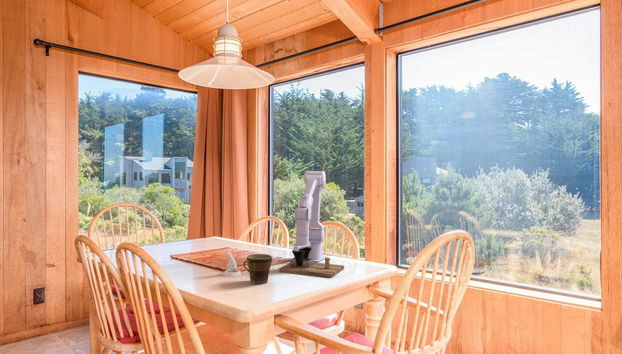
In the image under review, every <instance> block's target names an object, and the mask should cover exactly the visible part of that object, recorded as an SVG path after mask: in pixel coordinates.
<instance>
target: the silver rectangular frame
mask: <svg viewBox="0 0 622 354" xmlns="http://www.w3.org/2000/svg"><path fill="white" fill-rule="evenodd" d="M289 263H290V266H295V267H304V268H310V267H312V266H313V264H314V259H311V258H303V262H302V266H297V265H296V260H295V257H292V258H290V259H289Z"/></svg>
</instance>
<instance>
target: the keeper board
mask: <svg viewBox="0 0 622 354" xmlns="http://www.w3.org/2000/svg"><path fill="white" fill-rule="evenodd" d="M330 260H331V257H330V256H329V257H328V256H327V257H324V262H314V264H313V266H312V267H310V268H304V267H295V266H290V262H289V263H286V264H285V265H282V266H280V267H278V272H279V273H285V274H286V273H288V274H295V275H296V274H297V275H302V276H303V275H305V276H313V277H319V276H320V277H321V278H328V279H329V278H330V279H333V277H335V276H336V275H338V274H339V273H340V272H342V271H343V270H345V265H342V264H335V263H334V264H333V263H330Z"/></svg>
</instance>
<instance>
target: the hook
mask: <svg viewBox="0 0 622 354" xmlns="http://www.w3.org/2000/svg"><path fill="white" fill-rule="evenodd" d="M225 257H226V258H227V260H228V263H227V265H226V267H227V269H226V270H224V272H223V276H224V277H228V278H236V277H240V276H242V275H243V274H242V271H241V270H240V269H238V264H237V262H236V260H235V258H234V256H233V254H232V253H231V252H229V251H227V252H225Z"/></svg>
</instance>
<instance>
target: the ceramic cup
mask: <svg viewBox="0 0 622 354" xmlns="http://www.w3.org/2000/svg"><path fill="white" fill-rule="evenodd" d="M272 262H273V255H270V254H268V253H267V254H265V253H254V254H249V255H247V256H246V260H244V262H243V268H244V269H246V270H247V272H248V274H249V280H250V284H253V285H264V284H267V283H268V281H269V275H270V269H271V267H272ZM246 264H247V267H246Z"/></svg>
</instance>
